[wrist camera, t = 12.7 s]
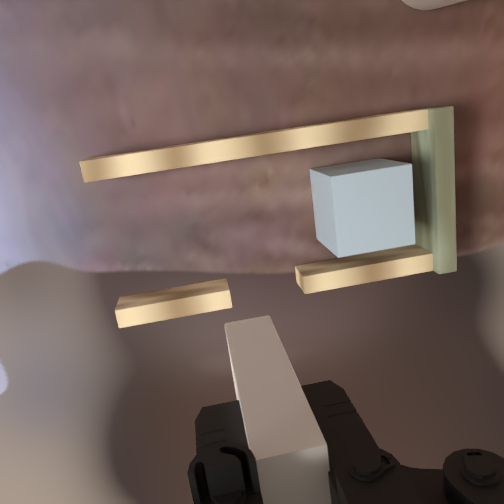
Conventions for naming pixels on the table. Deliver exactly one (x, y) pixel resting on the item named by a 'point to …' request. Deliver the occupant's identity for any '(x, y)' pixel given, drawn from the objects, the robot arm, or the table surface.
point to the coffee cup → (430, 3)
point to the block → (363, 206)
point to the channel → (324, 272)
